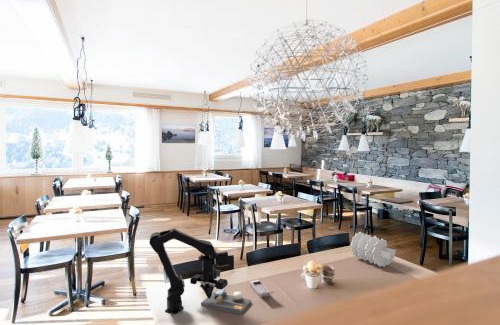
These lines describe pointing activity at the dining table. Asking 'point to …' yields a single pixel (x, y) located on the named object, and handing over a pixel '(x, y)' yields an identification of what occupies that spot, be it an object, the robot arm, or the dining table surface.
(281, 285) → the dining table surface
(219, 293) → the rocker switch
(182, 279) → the robot arm
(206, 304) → the control panel
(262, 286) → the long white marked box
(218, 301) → the wood grain cube
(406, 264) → the dining table surface
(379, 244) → the spiral staircase
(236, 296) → the push button
